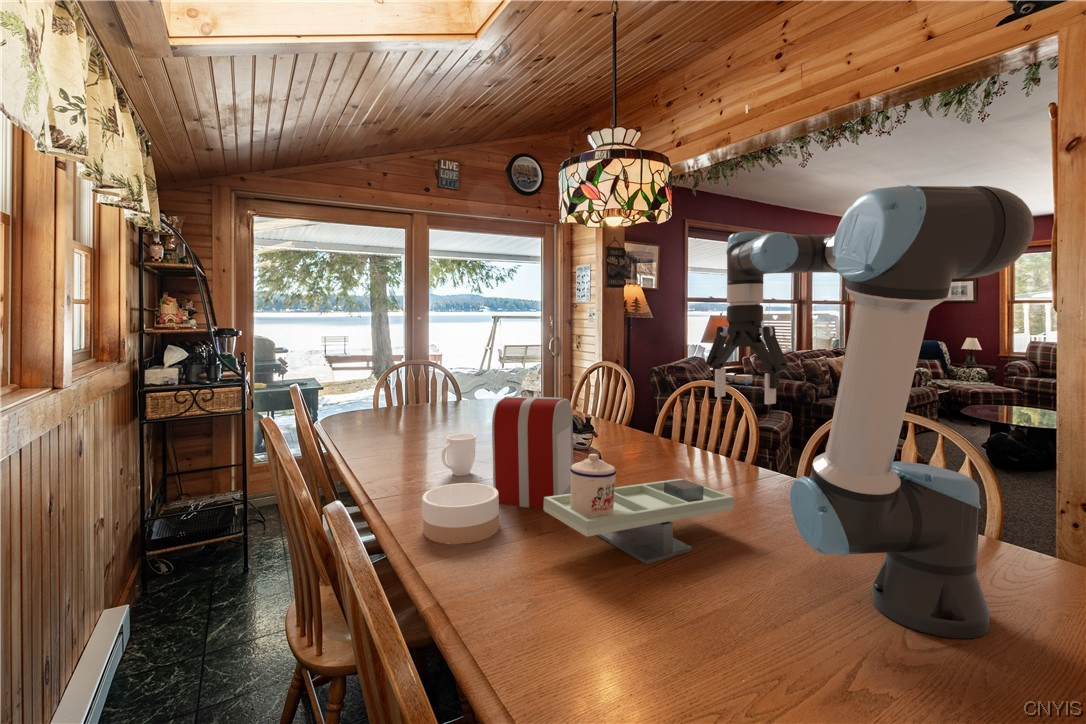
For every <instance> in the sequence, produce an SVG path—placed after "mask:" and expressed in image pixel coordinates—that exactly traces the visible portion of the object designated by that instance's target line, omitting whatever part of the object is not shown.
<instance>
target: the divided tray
mask: <svg viewBox="0 0 1086 724" xmlns="http://www.w3.org/2000/svg"><path fill="white" fill-rule="evenodd" d="M677 480H685V479H683V478H673V479H668V480H660V481H654V482H646V483H645V482H644V483H640V484H639V483H638V484H632V485H623V486H617V487H616V486H615V487H614V508H613V514H612V515H610V516H604V517H598V518H592V519H589V518H586V517H584V516H582V515H580V514H579V513H577V512H575V511H573V510H571V509H570V498H571V494H564V495H556V496H549V497H544V509H543V511H544V512H545V513H546V514H548V515H550V516H552V517H553V518H555V519H556V520H559V521H560V522H561V523H564V524H565V525H566V526H568V527H570V528H571V529H573V530H575V531H576V532H578V533H580V534H581V535H583V536H584V537H586V538H587V537H592V536H597V535H599V534H604V533H609V532H615V531H620V530H626V529H631V528H636V527H642V526H647V525H653V524H658V523H663V522H673V521H678V520H683V519H689V518H690V519H691V518H695V517H701V516H706V515H711V514H716V513H721V512H727V511H728V512H729V511H733V510H734V504H735V503H734V501H735V500H734V499H735V497H734V496H732V495H730V494H728V493H727V494H726V493H724V492H721V491H719V490H715V489H712V488H709V487H707V486H704V491H703V500H699V501H693V502H687V501H684V500H682V499H679V498H677V497H674V496H672V495H669V494H666V493H664V482H670V481H677Z"/></svg>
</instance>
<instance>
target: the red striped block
mask: <svg viewBox="0 0 1086 724" xmlns="http://www.w3.org/2000/svg"><path fill="white" fill-rule="evenodd" d="M491 420H492V421H491V437H492V438H491V439H492V440H491V443H492V444H491V447H492V448H491V449H492V481H493V483H492V484H493V486H492V487H494V488H495V489H497V491H498V494H499V505H503V506H515V507H519V508H520V507H522V508H533V509H534V508H535V509H542V510H544V497H549V496H556V495H564V494H571V471H570V469H571V466H572V465H573V464H574V442H573V441H574V439H573V437H574V436H573V435H574V431H573V430H574V429H573V428H574V427H573V426H574V425H573V423H574V422H573V409H572V405H571V402H570V400H569V399H568V398H563V397H551V396H550V397H547V396H546V397H544V396H510V395H508V396H504V397H503V398H501V399H500V400H499V401H497V402H496V404H495V406H494V408H493V413H492V419H491Z"/></svg>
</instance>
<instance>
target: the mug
mask: <svg viewBox="0 0 1086 724" xmlns="http://www.w3.org/2000/svg"><path fill="white" fill-rule="evenodd" d="M476 440H477V438H476V435H475V434H472V433H457V434H451V435H448V436H447V437H446V445H445V446H444V447H443V449H442V452H441V461H442V464H443V465H444V466H445V467H446V468H447V469H449V470H450V471H451V473H452V474H453V476H457V477H464V476H468V475H469V474H470V473H471V470H472V469H473V465H474V463H475V458H476V443H477V442H476Z"/></svg>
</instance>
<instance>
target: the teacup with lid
mask: <svg viewBox="0 0 1086 724" xmlns="http://www.w3.org/2000/svg"><path fill="white" fill-rule="evenodd" d="M570 471H571V498H570V509H571V510H573V511H575V512H577V513H579V514H580V515H582V516H584V517H586V518H589V519H592V518H598V517H604V516H610V515H612V514H613V508H614V488H615V487H616V480H617V479H616V478H617V477H616V474H617V471H616V468H615V466H614V465H611V464H609V463H607V462H605V461H604V460H602V459H600V456H599V455H598V453H590V454H589V455H588V458H584V459H583V460H582V461H579V462H575V463H573V465H572V466H571V469H570Z"/></svg>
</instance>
